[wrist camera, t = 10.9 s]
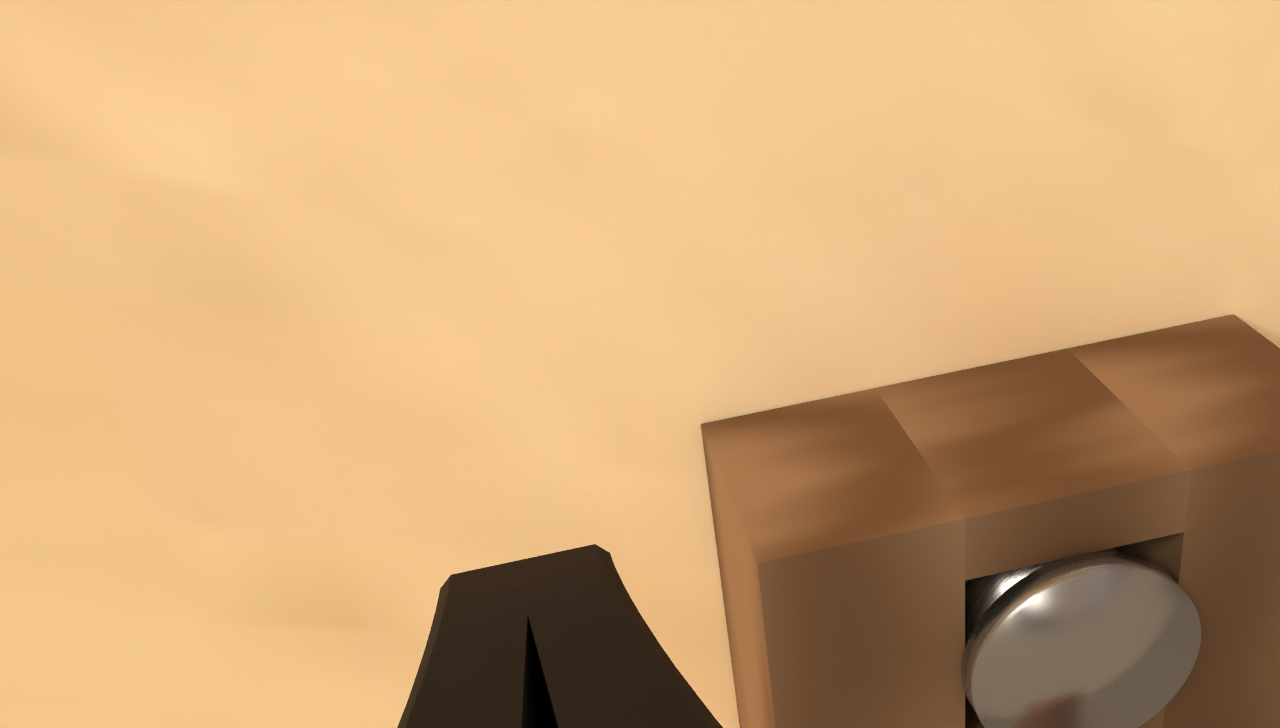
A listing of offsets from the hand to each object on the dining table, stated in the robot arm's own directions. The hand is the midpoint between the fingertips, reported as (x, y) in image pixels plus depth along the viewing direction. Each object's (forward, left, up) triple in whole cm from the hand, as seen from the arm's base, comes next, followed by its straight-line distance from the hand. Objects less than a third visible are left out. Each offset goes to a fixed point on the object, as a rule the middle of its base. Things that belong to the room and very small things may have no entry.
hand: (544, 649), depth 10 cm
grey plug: (-8, +7, -9) cm, 14 cm away
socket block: (-8, +14, -10) cm, 19 cm away
